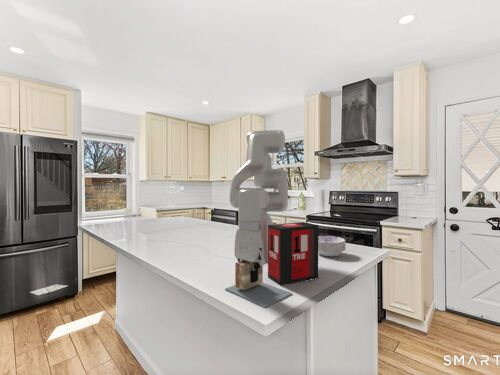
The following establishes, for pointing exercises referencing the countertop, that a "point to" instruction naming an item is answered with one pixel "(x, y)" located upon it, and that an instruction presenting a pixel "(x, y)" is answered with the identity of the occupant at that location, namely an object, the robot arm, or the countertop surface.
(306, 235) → the cleaning product box
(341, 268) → the countertop surface
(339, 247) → the paper bowls
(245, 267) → the brown block
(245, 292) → the mat
